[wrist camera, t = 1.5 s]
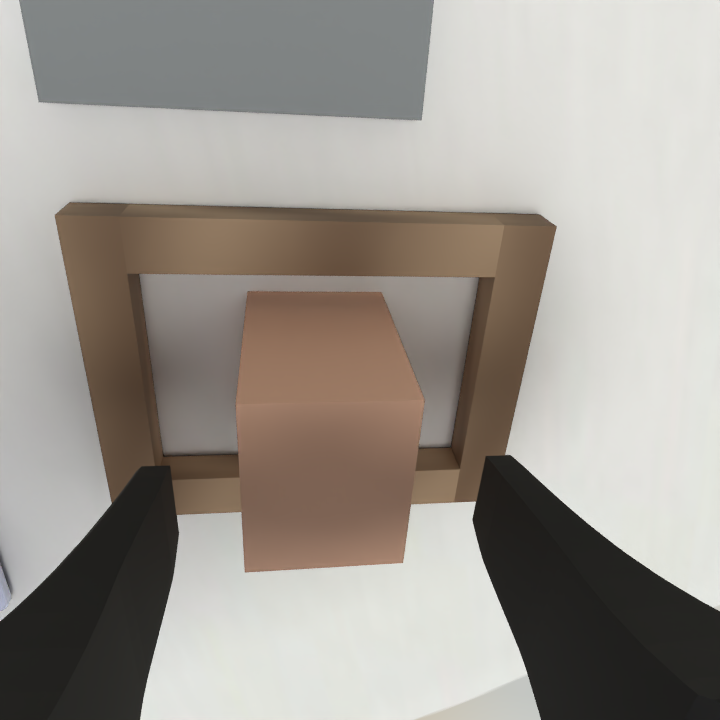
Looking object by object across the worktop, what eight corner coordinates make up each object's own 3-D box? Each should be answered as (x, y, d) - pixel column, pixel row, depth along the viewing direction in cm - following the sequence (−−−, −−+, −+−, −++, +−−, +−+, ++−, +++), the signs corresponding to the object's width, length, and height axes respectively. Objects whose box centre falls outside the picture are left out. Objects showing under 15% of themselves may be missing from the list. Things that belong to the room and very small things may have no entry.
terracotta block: (253, 428, 20) (244, 572, 14) (247, 290, 17) (235, 404, 12) (370, 425, 20) (402, 562, 15) (381, 291, 18) (424, 399, 13)
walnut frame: (123, 492, 20) (114, 517, 19) (69, 202, 15) (55, 214, 14) (484, 478, 22) (494, 500, 21) (539, 214, 17) (556, 226, 16)
